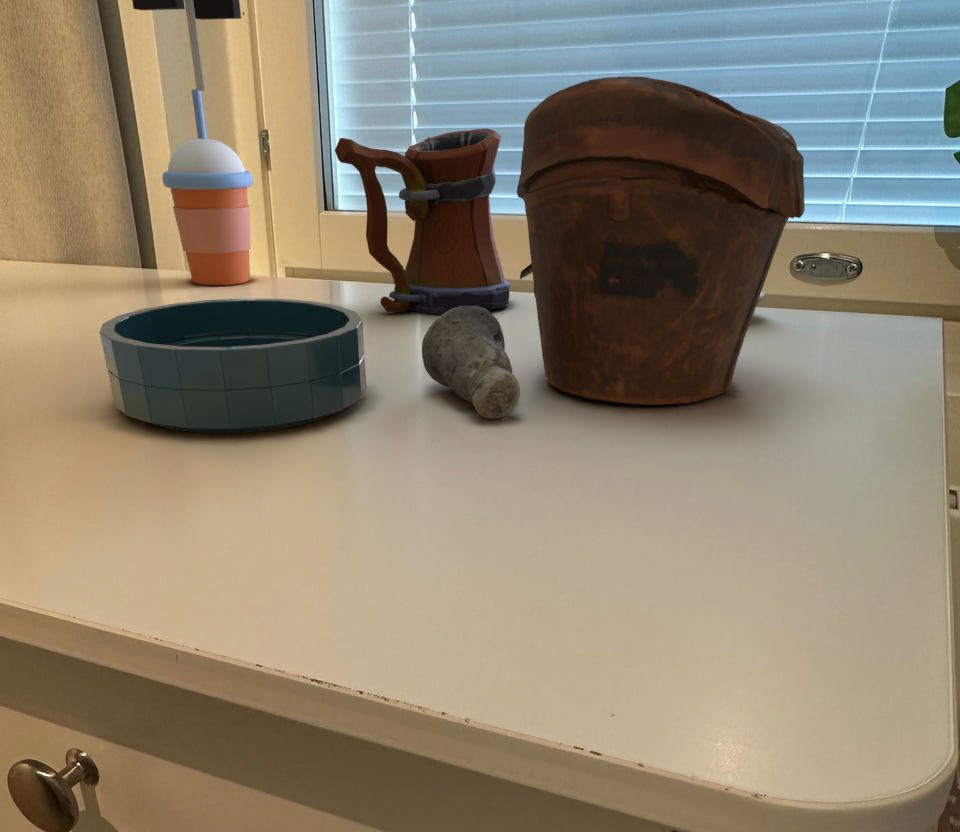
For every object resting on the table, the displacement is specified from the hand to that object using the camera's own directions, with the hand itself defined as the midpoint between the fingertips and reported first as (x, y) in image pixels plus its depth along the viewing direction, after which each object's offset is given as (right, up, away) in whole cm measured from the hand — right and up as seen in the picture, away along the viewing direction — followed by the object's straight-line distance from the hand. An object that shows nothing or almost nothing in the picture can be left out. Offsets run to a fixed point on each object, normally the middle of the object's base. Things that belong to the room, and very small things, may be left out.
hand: (189, 12), depth 50 cm
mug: (+11, -3, +36) cm, 38 cm away
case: (+27, -17, +13) cm, 35 cm away
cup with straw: (-12, +4, +48) cm, 50 cm away
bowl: (+1, -20, +8) cm, 21 cm away
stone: (+16, -20, +9) cm, 27 cm away
